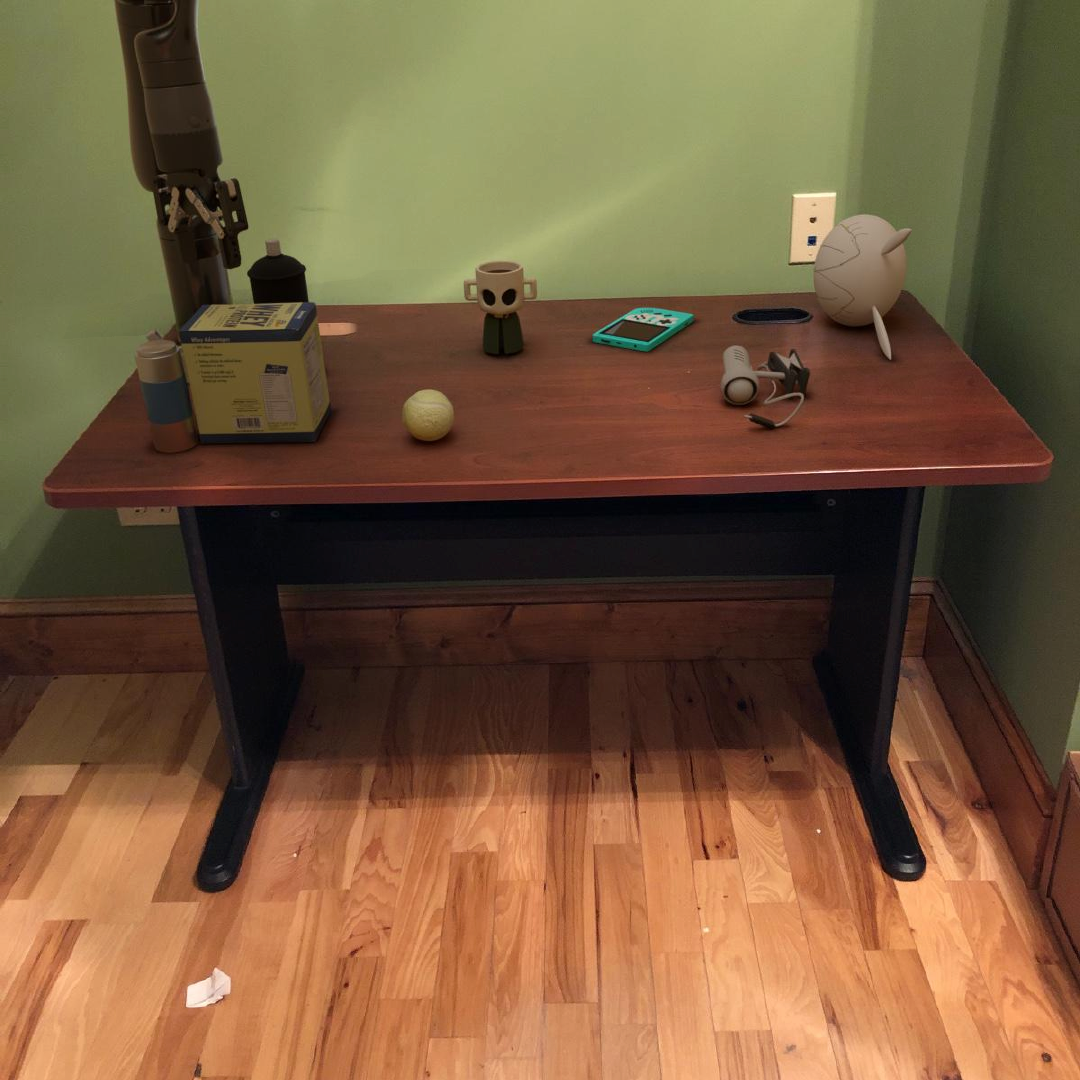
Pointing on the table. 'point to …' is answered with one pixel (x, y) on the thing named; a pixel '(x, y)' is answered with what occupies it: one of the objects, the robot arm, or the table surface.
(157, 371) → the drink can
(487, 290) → the character mug
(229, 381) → the protein box
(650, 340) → the handheld game console
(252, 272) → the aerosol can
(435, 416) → the tennis ball
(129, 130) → the robot arm
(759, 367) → the clip-on lamp
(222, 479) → the table surface
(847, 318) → the beige egg-shaped piece
